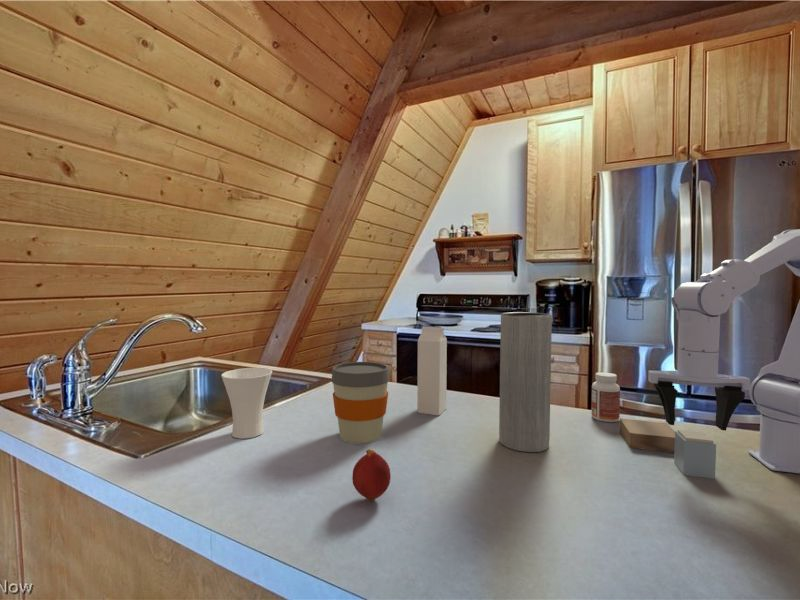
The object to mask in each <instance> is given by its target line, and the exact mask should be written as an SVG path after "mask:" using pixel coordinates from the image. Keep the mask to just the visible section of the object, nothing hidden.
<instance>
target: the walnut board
mask: <svg viewBox="0 0 800 600" xmlns="http://www.w3.org/2000/svg"><path fill="white" fill-rule="evenodd" d="M675 432H676V431H675V430H674V428H672V427H671V425H669V424H668V423H667V422H662V421H661V422H660V421H650V420H641V419H629V418H620V417H619V433H620V434H621V436H622V438H623V439H624V441H625V442H626V444H627V446H628V447H629V448H632V449H640V450H648V451H658V452H666V453H674V451H675Z"/></svg>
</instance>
